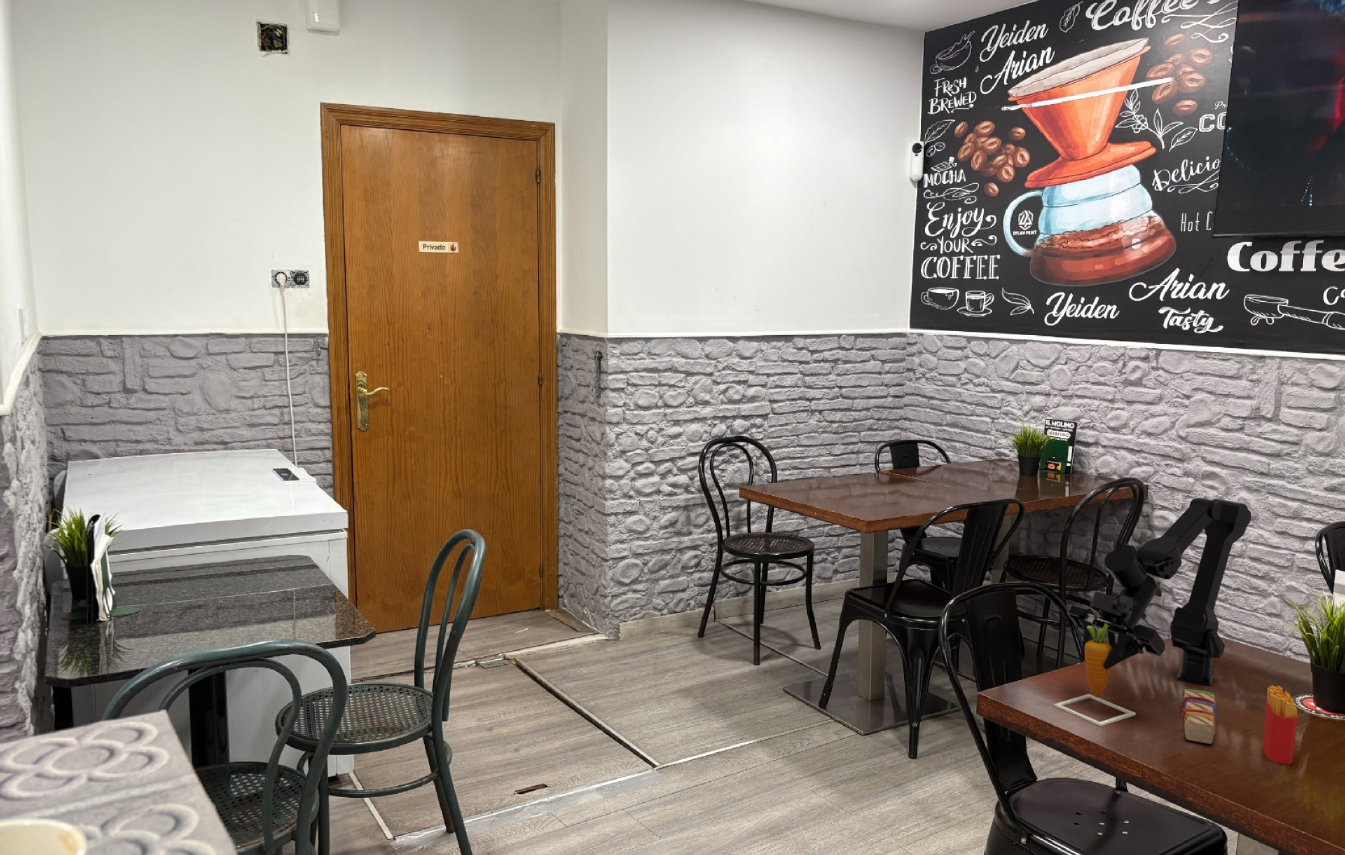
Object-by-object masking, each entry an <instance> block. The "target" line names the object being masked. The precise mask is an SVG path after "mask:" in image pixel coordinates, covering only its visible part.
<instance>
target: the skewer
mask: <svg viewBox="0 0 1345 855" xmlns="http://www.w3.org/2000/svg"><path fill="white" fill-rule="evenodd" d="M1181 693H1182V694H1181V704H1180V709H1181V710H1180V711H1181V716H1180V717H1181V724H1182V727H1183V728H1184V734H1185V739H1186V740H1188V741H1193V742H1197V743H1204V744H1209V745H1211V744H1212V743H1213V741H1214V737H1215V735H1216V733H1217V731H1218V729H1217V727H1218V723H1217V722H1218V718H1219V717H1220V716H1219V715H1220V713H1219V709H1218V707H1217V703H1216V702H1217V701H1216V700H1217V698H1216V696H1215V694H1214V693H1212V692H1208V691H1204V690H1198V689H1193V688H1192V689H1191V688H1184V689H1183V690H1182V692H1181Z"/></svg>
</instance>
